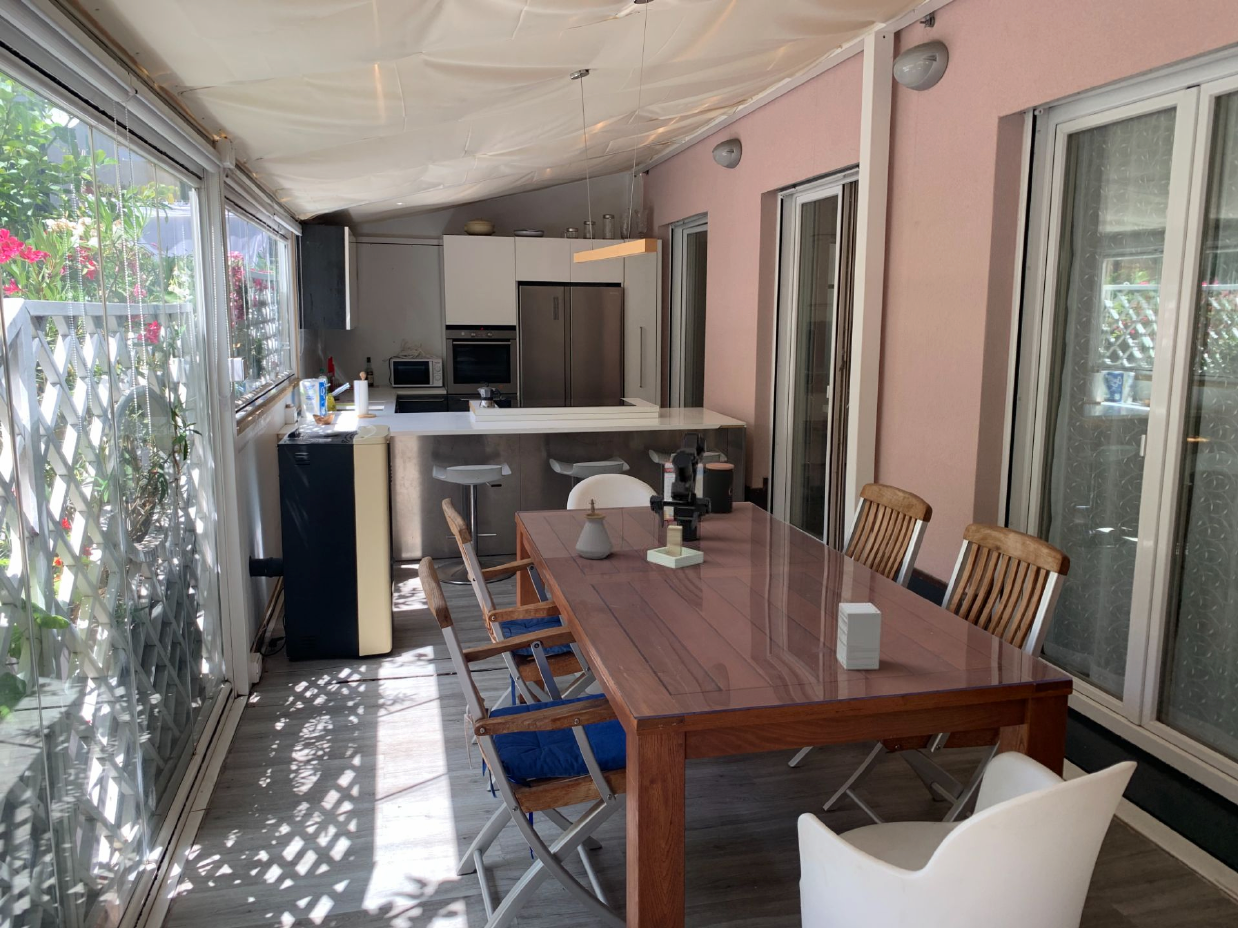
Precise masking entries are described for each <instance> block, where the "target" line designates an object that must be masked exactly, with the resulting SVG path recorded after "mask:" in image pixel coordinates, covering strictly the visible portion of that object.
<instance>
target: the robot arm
mask: <svg viewBox="0 0 1238 928" xmlns="http://www.w3.org/2000/svg"><path fill="white" fill-rule="evenodd" d="M680 441H681V442H680V449H677V451H676V453H675V454H673V457H672V461H671V463H672V465H673V468H674V474H675V480H674V482H672V485H671V498H672V500H664V495H661V494H660V495H659V494H658V495H657V494H653V495H651V496H650V497H649V506H650V510H651V511H652V512H654V513H655V514H656V515H657V514H658V517H659V521H660V525H661V528H664V526H665V521H664V506H667V507H673V515H674V521H673V522H676V526H682V542H683V541H684V542H690V541H695V540H699V539H700V537H699V536H698V524H697V523H700V522H702V521H701V518H702V519H703V517H706V516H707V515H711V513H710V511H711V504H710V499H709V498H705V497H703V498H699V497H698V498H697V495H696V493H695V487H696V478H697V469H698V464H699V463H701V462H702V461H703V460H704V457H705V454H706V453H707V441H706V438H704V437H702V436H701V434H700V433H698V432H691V431H690V432H688V431H687V432H685V433H684V435H683V437H681V440H680Z"/></svg>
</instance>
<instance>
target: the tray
mask: <svg viewBox="0 0 1238 928" xmlns="http://www.w3.org/2000/svg"><path fill="white" fill-rule="evenodd" d="M646 557H647V558H646V559H647V561H648V562H650V563H654V564H658V565H662V566H664V567H668V568H671V569H679V568H685V567H688V566H693V565H698V564H702V563H704V552H703V551H699V550H695V549H691V548H689V547H684V546H682V555H681V556H680V557H671V556H668V555H667V546H665V547H660V548H655V549H649V550H647V556H646Z"/></svg>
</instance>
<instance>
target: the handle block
mask: <svg viewBox="0 0 1238 928" xmlns="http://www.w3.org/2000/svg"><path fill="white" fill-rule="evenodd" d="M666 530H667V531H666V547H667V555H668V556H671V557H680V556H681V555H682V547H683V540H682V526H677V525H668V527H667V529H666Z"/></svg>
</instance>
